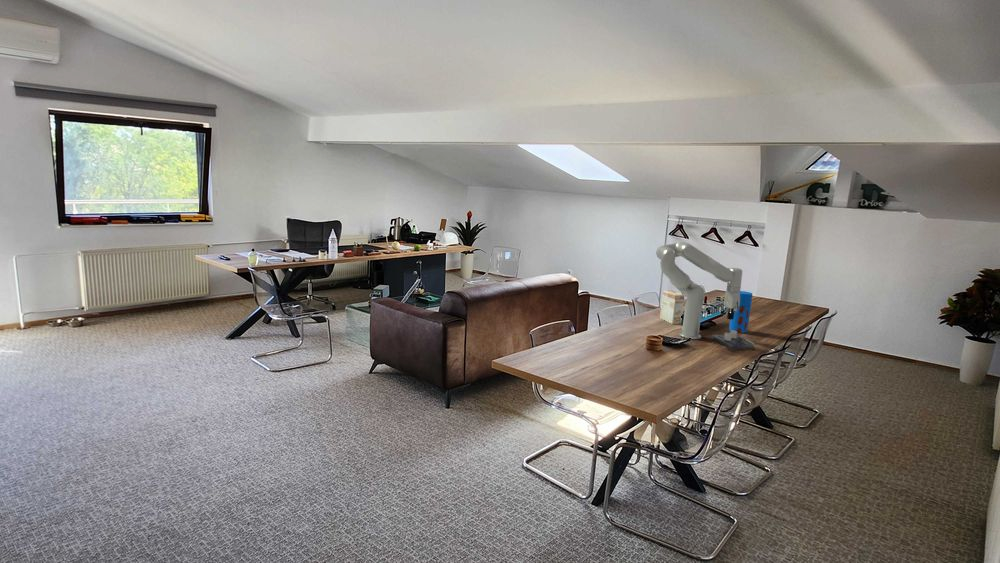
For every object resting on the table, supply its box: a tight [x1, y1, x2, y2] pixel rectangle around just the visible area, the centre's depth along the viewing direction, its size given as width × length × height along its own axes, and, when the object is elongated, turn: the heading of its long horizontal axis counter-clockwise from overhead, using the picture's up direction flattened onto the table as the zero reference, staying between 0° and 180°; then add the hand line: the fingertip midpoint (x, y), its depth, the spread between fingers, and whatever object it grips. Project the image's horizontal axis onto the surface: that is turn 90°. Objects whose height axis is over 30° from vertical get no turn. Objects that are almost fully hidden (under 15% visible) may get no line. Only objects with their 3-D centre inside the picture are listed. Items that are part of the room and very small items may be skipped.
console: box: [710, 334, 756, 350], centre depth 324 cm, size 22×14×4 cm, turn 9°
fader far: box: [729, 330, 738, 338], centre depth 328 cm, size 3×2×4 cm
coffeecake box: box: [659, 289, 685, 325], centre depth 368 cm, size 15×7×20 cm, turn 16°
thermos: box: [728, 290, 753, 334], centre depth 352 cm, size 11×11×25 cm
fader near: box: [724, 332, 732, 341], centre depth 322 cm, size 3×2×4 cm
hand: (730, 318), depth 333 cm, fingers closed
